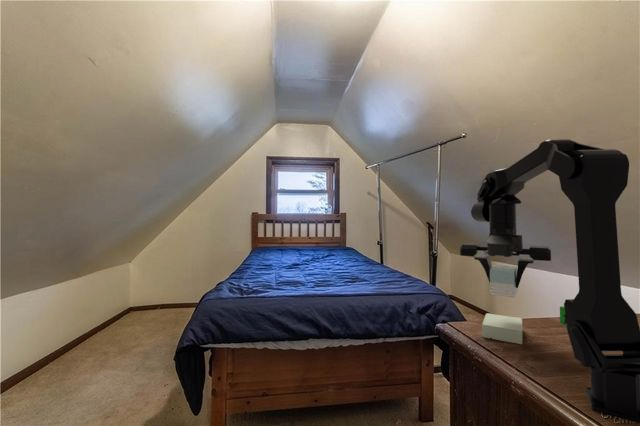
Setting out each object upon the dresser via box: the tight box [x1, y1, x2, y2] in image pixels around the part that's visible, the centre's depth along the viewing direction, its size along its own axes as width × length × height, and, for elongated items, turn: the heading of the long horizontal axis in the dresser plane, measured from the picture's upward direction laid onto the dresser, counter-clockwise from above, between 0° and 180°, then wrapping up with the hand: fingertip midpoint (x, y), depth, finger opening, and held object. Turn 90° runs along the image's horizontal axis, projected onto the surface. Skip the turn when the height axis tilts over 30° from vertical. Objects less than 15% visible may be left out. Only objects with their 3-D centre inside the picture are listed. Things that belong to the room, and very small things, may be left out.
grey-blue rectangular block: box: [489, 264, 519, 298], centre depth 74 cm, size 5×8×6 cm, turn 143°
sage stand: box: [481, 313, 523, 345], centre depth 75 cm, size 10×8×3 cm
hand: (504, 286), depth 74 cm, fingers closed on grey-blue rectangular block, 5 cm apart
